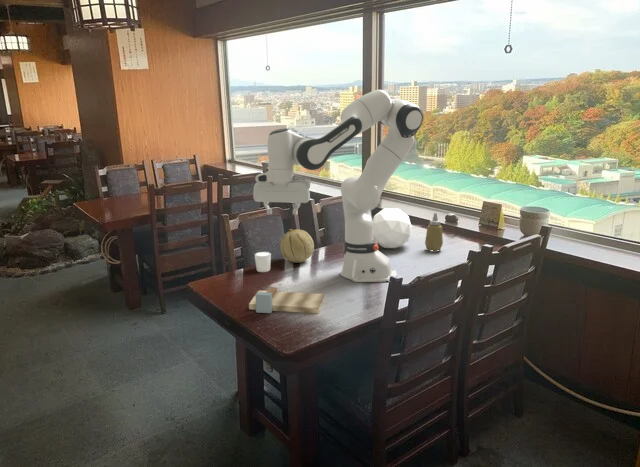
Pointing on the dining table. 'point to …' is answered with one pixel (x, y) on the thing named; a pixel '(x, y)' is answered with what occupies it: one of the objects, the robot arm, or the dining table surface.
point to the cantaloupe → (296, 246)
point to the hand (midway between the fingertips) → (282, 214)
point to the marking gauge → (265, 300)
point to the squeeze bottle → (434, 234)
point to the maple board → (294, 302)
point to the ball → (391, 228)
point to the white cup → (263, 261)
